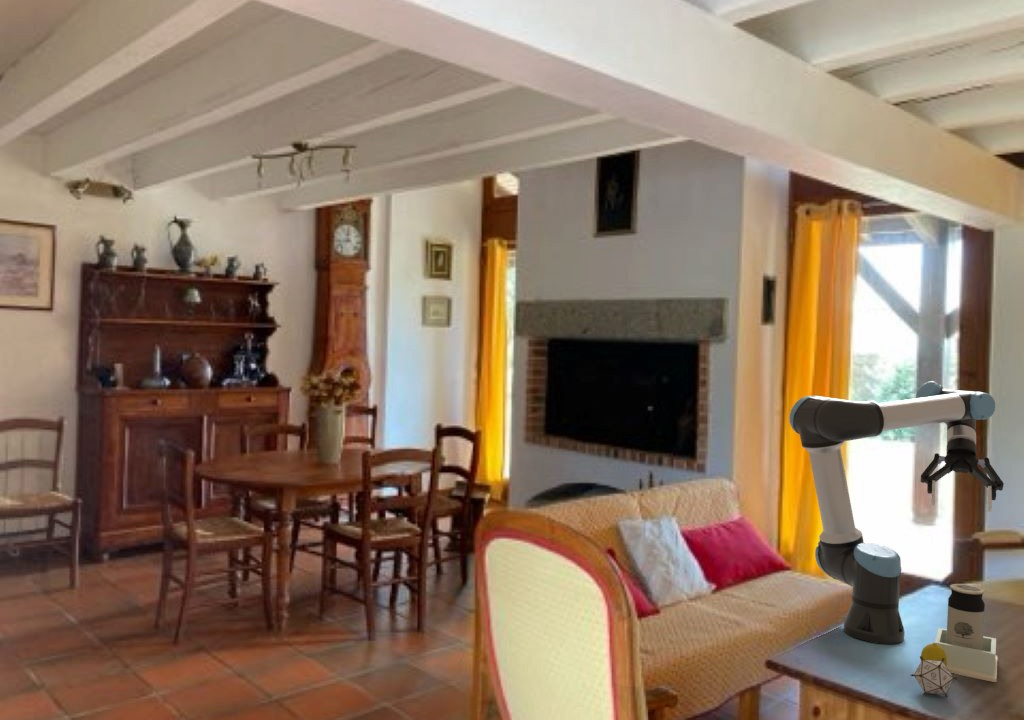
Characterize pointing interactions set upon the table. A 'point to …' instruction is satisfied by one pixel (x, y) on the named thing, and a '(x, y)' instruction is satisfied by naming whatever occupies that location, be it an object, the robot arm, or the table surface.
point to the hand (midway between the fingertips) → (961, 505)
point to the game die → (934, 676)
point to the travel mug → (965, 616)
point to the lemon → (933, 653)
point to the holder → (970, 658)
